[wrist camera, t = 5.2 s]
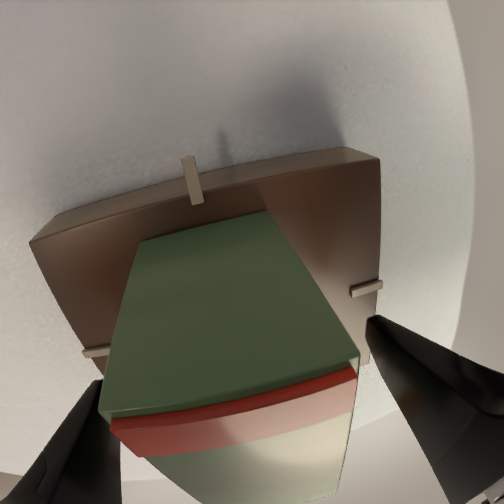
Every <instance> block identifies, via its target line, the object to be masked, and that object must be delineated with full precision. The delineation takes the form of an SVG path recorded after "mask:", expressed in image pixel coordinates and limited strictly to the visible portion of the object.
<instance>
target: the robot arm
mask: <svg viewBox="0 0 504 504" xmlns="http://www.w3.org/2000/svg"><path fill="white" fill-rule="evenodd" d="M365 339H366V342H367V344H368V347H369V349H370V351H371V353H372V356H373V358H374V360H375V363H376V365H377V367H378V369H379V372H380V374H381V376H382V378H383V380H384V382H385V383H386V385H387V387H388V389H389V390H390V392H391V394H392V396H393V397H394V399H395V401H396V403H397V404H398V406H399V408H400V410H401V411H402V413H403V415H404V416H405V418H406V420H407V422H408V424H409V426H410V428H411V429H412V431H413V433H414V435H415V437H416V439H417V440H418V442H419V444H420V446H421V448H422V450H423V451H424V454H425V455H426V457H427V459H428V461H429V463H430V465H431V467H432V469H433V471H434V473H435V475H436V477H437V479H438V481H439V483H440V485H441V487H442V489H443V491H444V493H445V495H446V497H447V499H448V500H449V503H450V504H467V503H468V502H470V501H471V500H473V499H475V498H476V497H477V496H479V495H481V494H482V493H485V495H486V497H487V499H486V500H484V501H483V502H482V503H481V504H504V374H503V373H500V372H497V371H495V370H492V369H489V368H487V367H485V366H482V365H479V364H477V363H475V362H473V361H471V360H469V359H467V358H465V357H463V356H459V355H458V354H456V353H455V352H453V351H451V350H449V349H447V348H445V347H443V346H441V345H439V344H437V343H435V342H433V341H431V340H429V339H427V338H425V337H423V336H421V335H419V334H417V333H415V332H413V331H411V330H409V329H407V328H405V327H403V326H401V325H399V324H397V323H395V322H393V321H391V320H389V319H387V318H385V317H383V316H381V315H374V316H371V317H368V318H367V320H366V329H365ZM102 384H103V379H101V380H94V381H93V382H92V383H91V384H90V386H89V387H88V388H87V390H86V391H85V392H84V394H83V395H82V396H81V398H80V399H79V401H78V402H77V403H76V405H75V406H74V407H73V409H72V410H71V411H70V413H69V414H68V416H67V417H66V418H65V420H64V421H63V422H62V424H61V425H60V427H59V428H58V429H57V431H56V432H55V434H54V435H53V436H52V438H51V439H50V441H49V442H48V444H47V445H46V446H45V448H44V449H43V451H42V452H41V453H40V455H39V456H38V458H37V459H36V461H35V462H34V463H33V465H32V466H31V467H30V469H29V470H28V471H27V473H26V474H25V475H24V476H23V478H22V479H21V480H20V481H19V482H18V484H17V485H16V486H15V487H14V488H13V490H12V491H11V492H10V493H9V495H8V496H7V497H5V498H4V499H3V500H1V501H0V504H122V496H121V471H120V440H119V439H118V438H117V437H116V436H115V435H114V434H113V433H112V432H111V431H110V424H109V423H108V422H107V421H106V420H105V419H104V418H103V417H102V416H101V414H100V413H99V411H98V406H99V400H100V395H101V389H102Z"/></svg>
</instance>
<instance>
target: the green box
mask: <svg viewBox="0 0 504 504" xmlns="http://www.w3.org/2000/svg"><path fill="white" fill-rule="evenodd" d="M360 357H361V353H360V351H359V349H358V348H357V346H356V344H355V343H354V341H353V340H352V338H351V336H350V335H349V333H348V332H347V330H346V328H345V327H344V325H343V324H342V322H341V321H340V319H339V317H338V316H337V314H336V313H335V311H334V310H333V308H332V307H331V305H330V303H329V302H328V300H327V299H326V297H325V296H324V294H323V293H322V291H321V290H320V288H319V286H318V285H317V283H316V282H315V280H314V279H313V277H312V276H311V274H310V273H309V271H308V270H307V268H306V267H305V265H304V264H303V262H302V261H301V259H300V258H299V256H298V255H297V253H296V252H295V250H294V249H293V247H292V246H291V244H290V243H289V241H288V240H287V238H286V237H285V235H284V234H283V232H282V231H281V230H280V228H279V227H278V225H277V224H276V222H275V221H274V219H273V218H272V216H271V215H270V213H269V212H268V211H262V212H258V213H254V214H249V215H245V216H241V217H237V218H233V219H228V220H224V221H220V222H216V223H212V224H208V225H204V226H200V227H196V228H192V229H188V230H184V231H180V232H176V233H172V234H168V235H165V236H161V237H157V238H153V239H149V240H146V241H142V242H140V244H139V247H138V250H137V253H136V256H135V259H134V262H133V265H132V269H131V272H130V275H129V278H128V282H127V285H126V289H125V292H124V296H123V299H122V303H121V307H120V310H119V314H118V318H117V322H116V326H115V330H114V334H113V338H112V342H111V346H110V351H109V355H108V360H107V364H106V369H105V374H104V379H103V384H102V389H101V395H100V400H99V406H98V411H99V413H100V414H101V416H102V417H103V418H104V419H105V420H106V421H107V422H108V423H109V424H110V431H111V432H112V433H113V434H114V435H115V436H116V437H117V438H118V439H119V440H120V441H121V442H122V443H123V444H124V445H125V446H126V447H127V448H129V449H130V450H131V451H132V452H133V453H134V454H135V455H136V456H137V457H144V458H145V459H146V460H147V461H149V462H150V463H151V464H152V465H153V466H154V467H155V468H157V469H158V470H159V471H160V472H161V473H163V474H164V475H165V476H166V477H167V478H169V479H170V480H171V481H172V482H174V483H175V484H176V485H178V486H179V487H180V488H181V489H183V490H184V491H185V492H187V493H188V494H190V495H191V496H192V497H194V498H195V499H196V500H198V501H199V502H201V503H202V504H303V503H306V502H310V501H313V500H316V499H319V498H323V497H326V496H329V495H332V494H335V493H336V492H337V489H338V485H339V481H340V477H341V472H342V468H343V464H344V459H345V454H346V449H347V444H348V439H349V433H350V428H351V423H352V417H353V410H354V404H355V397H356V390H357V383H358V375H359V366H360Z"/></svg>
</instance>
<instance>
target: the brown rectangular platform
mask: <svg viewBox="0 0 504 504" xmlns="http://www.w3.org/2000/svg"><path fill="white" fill-rule="evenodd" d="M181 161H182V166H183V170H184V174H185V177H184V178H180V179H176V180H172V181H168V182H164V183H160V184H157V185H153V186H149V187H146V188H142V189H138V190H135V191H131V192H128V193H125V194H121V195H118V196H114V197H111V198H108V199H105V200H101V201H98V202H95V203H92V204H89V205H86V206H83V207H80V208H77V209H74V210H71V211H68V212H65V213H62V214H59V215H57V216H54V217H53V218H52V219H51V220H50V221H49V222H48V223H47V224H46V225H45V226H44V227H43V228H42V229H41V230H40V231H39V232H38V233H37V234H36V235H35V236H34V237H33V238H32V239H31V241H30V242H29V245H30V247H31V250H32V252H33V254H34V256H35V259H36V261H37V263H38V265H39V267H40V269H41V271H42V273H43V275H44V277H45V280H46V282H47V284H48V285H49V287H50V289H51V291H52V293H53V295H54V297H55V299H56V301H57V303H58V304H59V306H60V308H61V310H62V312H63V313H64V315H65V317H66V319H67V320H68V322H69V324H70V325H71V327H72V329H73V330H74V332H75V334H76V335H77V337H78V339H79V340H80V342H81V343H82V345H83V346H84V348H85V350H82V353H83V355H84V356H85V358H91V359H92V360H93V362H94V363H95V364H96V366H97V367H98V369H99V370H100V372H101V373H102V375H103V376H104V374H105V369H106V364H107V360H108V355H109V351H110V346H111V342H112V338H113V334H114V330H115V326H116V322H117V318H118V314H119V310H120V307H121V303H122V299H123V296H124V292H125V289H126V285H127V282H128V278H129V275H130V272H131V269H132V265H133V262H134V259H135V256H136V253H137V250H138V247H139V244H140V242H142V241H146V240H149V239H153V238H157V237H161V236H165V235H168V234H172V233H176V232H180V231H184V230H188V229H192V228H196V227H200V226H204V225H208V224H212V223H216V222H220V221H224V220H228V219H233V218H237V217H241V216H245V215H249V214H254V213H258V212H262V211H268V212H269V213H270V215H271V216H272V218H273V219H274V221H275V222H276V224H277V225H278V227H279V228H280V230H281V231H282V232H283V234H284V235H285V237H286V238H287V240H288V241H289V243H290V244H291V246H292V247H293V249H294V250H295V252H296V253H297V255H298V256H299V258H300V259H301V261H302V262H303V264H304V265H305V267H306V268H307V270H308V271H309V273H310V274H311V276H312V277H313V279H314V280H315V282H316V283H317V285H318V286H319V288H320V290H321V291H322V293H323V294H324V296H325V297H326V299H327V300H328V302H329V303H330V305H331V307H332V308H333V310H334V311H335V313H336V314H337V316H338V317H339V319H340V321H341V322H342V324H343V325H344V327H345V328H346V330H347V332H348V333H349V335H350V336H351V338H352V340H353V341H354V343H355V344H356V346H357V348H358V349H359V351H360V353H361V357H360V366H362V365H365V364H368V363H369V359H370V352H371V351H370V349H369V347H368V344H367V342H366V339H365V329H366V320H367V318H368V317H371V316H374V315H375V311H376V301H377V290H379V289H382V286H383V281H382V280H378V277H379V261H380V237H381V172H380V159H379V158H377V157H374V156H371V155H369V154H366V153H363V152H360V151H357V150H354V149H352V148H349V147H340V148H333V149H326V150H319V151H313V152H306V153H300V154H294V155H288V156H283V157H277V158H272V159H266V160H261V161H256V162H251V163H246V164H241V165H236V166H231V167H227V168H222V169H218V170H213V171H209V172H204V173H200V174H198V172H197V167H196V163H195V159H194V155H191V156H186V157H182V158H181ZM360 366H359V367H360Z"/></svg>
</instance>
